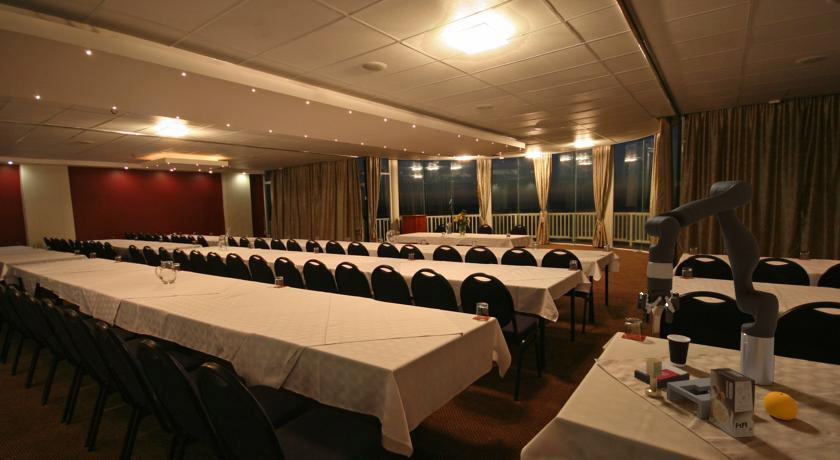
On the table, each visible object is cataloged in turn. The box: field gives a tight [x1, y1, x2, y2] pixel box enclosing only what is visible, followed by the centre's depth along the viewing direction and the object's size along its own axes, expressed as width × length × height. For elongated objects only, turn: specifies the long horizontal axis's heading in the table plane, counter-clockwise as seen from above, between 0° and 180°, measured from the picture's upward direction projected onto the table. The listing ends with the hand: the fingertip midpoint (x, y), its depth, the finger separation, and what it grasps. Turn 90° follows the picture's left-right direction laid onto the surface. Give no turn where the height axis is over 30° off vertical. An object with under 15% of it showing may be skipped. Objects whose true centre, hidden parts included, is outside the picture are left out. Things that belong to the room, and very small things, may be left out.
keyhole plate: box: [666, 377, 710, 419], centre depth 130 cm, size 18×13×6 cm
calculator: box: [633, 362, 691, 390], centre depth 149 cm, size 11×4×15 cm
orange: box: [762, 391, 799, 421], centre depth 122 cm, size 8×8×8 cm
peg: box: [644, 357, 663, 399], centre depth 137 cm, size 5×5×12 cm
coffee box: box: [708, 367, 756, 438], centre depth 116 cm, size 9×6×16 cm
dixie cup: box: [666, 334, 691, 368], centre depth 163 cm, size 8×8×11 cm
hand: (657, 323), depth 136 cm, fingers open, 8 cm apart
